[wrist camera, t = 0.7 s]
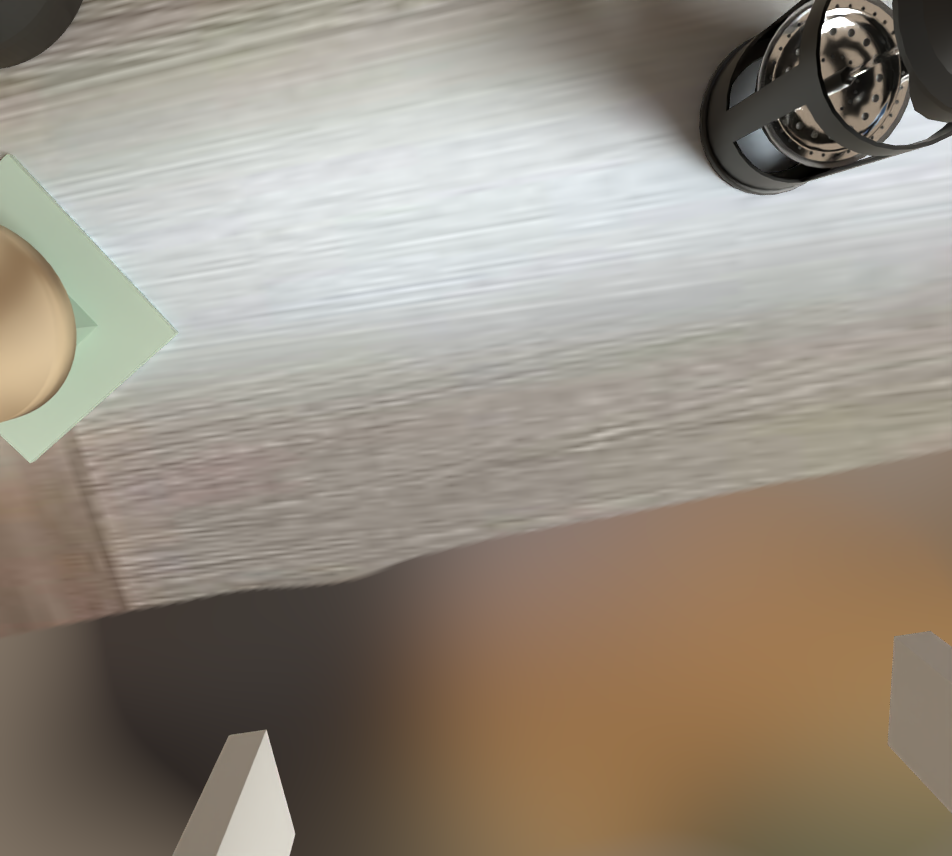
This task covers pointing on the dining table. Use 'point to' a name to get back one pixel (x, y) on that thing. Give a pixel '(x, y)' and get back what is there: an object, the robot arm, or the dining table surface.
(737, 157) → the french press
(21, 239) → the lid
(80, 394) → the mat stand
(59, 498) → the dining table surface
